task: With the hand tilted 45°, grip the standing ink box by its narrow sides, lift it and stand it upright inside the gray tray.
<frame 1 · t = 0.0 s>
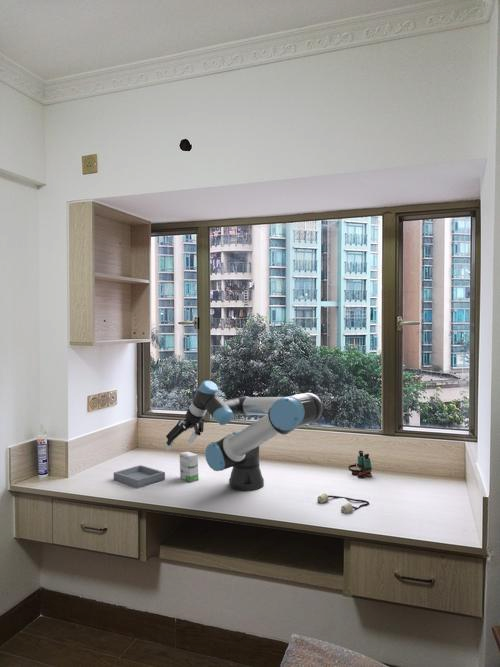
hand: (178, 446, 236), 15 cm above the table, tool tilted 35°, fingers open, 13 cm apart
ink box: (189, 479, 238), on the table
gray tray: (139, 479, 238), on the table
cable: (342, 505, 204), on the table
binoculars: (360, 476, 238), on the table
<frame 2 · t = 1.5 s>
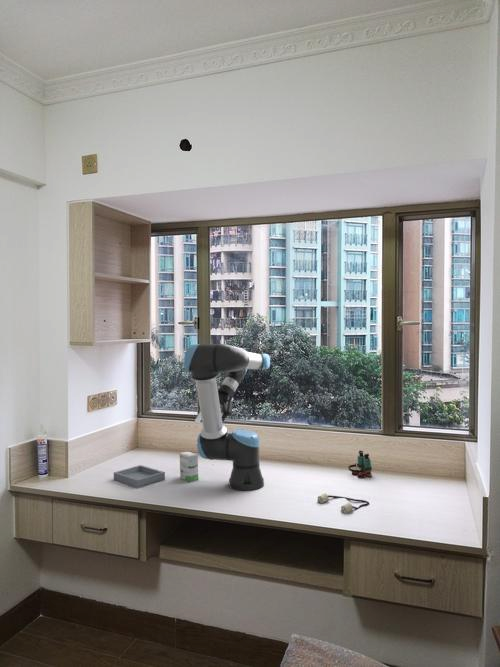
hand: (206, 424, 246), 23 cm above the table, tool tilted 45°, fingers open, 13 cm apart
nothing on the table moved.
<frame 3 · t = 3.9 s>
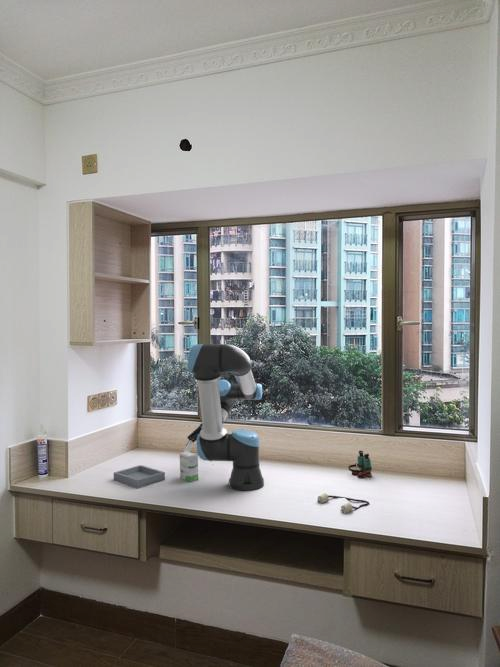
hand: (194, 455, 241), 9 cm above the table, tool tilted 45°, fingers open, 13 cm apart
nothing on the table moved.
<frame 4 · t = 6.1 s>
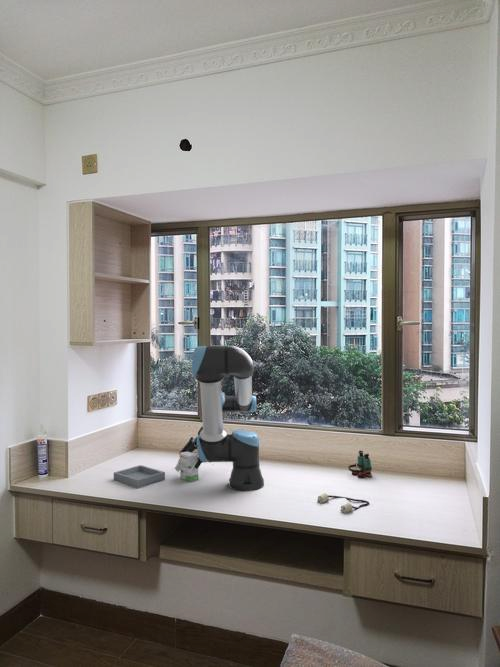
hand: (183, 472, 235), 4 cm above the table, tool tilted 45°, fingers closed on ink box, 9 cm apart
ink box: (189, 479, 238), on the table, touching gripper
everything else where it was.
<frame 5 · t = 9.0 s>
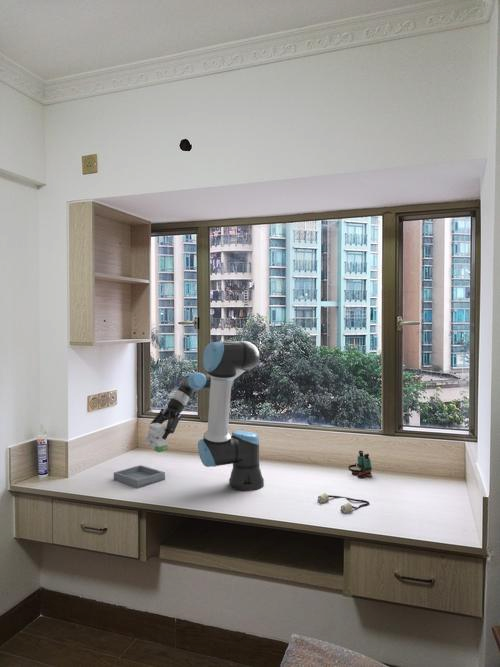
hand: (152, 442, 239), 16 cm above the table, tool tilted 40°, fingers closed on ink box, 9 cm apart
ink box: (158, 450, 242), point 12 cm above the table, touching gripper
everything else where it was.
when the fingers open (6 cm above the table, at t = 12.2 s): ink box drops 1 cm, resting on gray tray.
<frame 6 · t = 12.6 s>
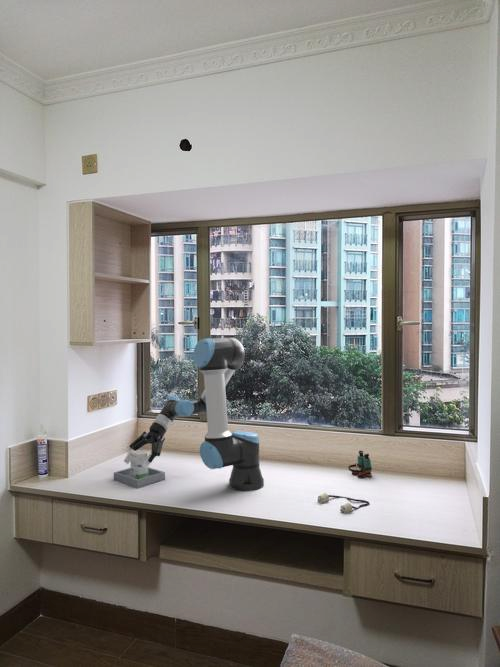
hand: (134, 465, 236), 7 cm above the table, tool tilted 45°, fingers open, 13 cm apart
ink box: (139, 478, 238), point 1 cm above the table, touching gray tray
everything else where it was.
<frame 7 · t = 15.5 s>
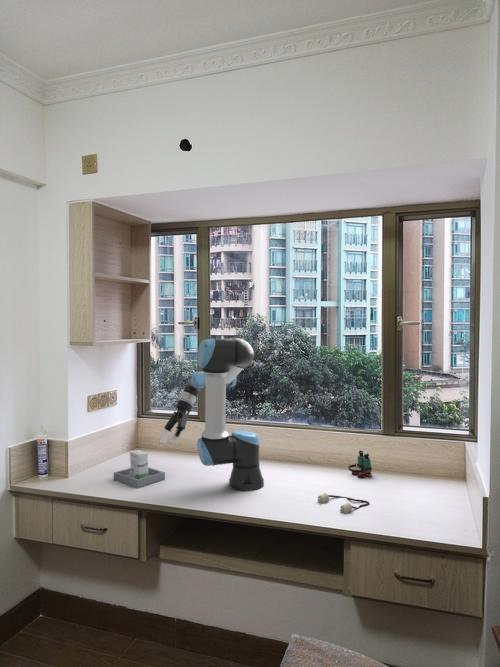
hand: (167, 443, 248), 14 cm above the table, tool tilted 35°, fingers open, 13 cm apart
nothing on the table moved.
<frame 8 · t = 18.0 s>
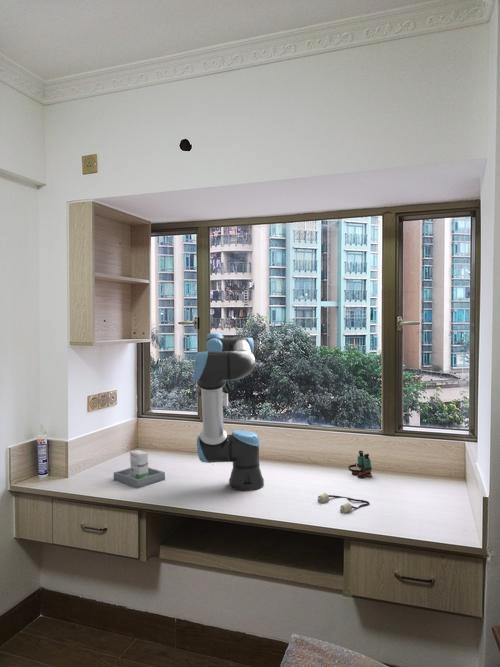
hand: (216, 408, 256), 29 cm above the table, tool pointing down, fingers open, 13 cm apart
nothing on the table moved.
at the end: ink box inside the target area on the gray tray (0.2 cm from its centre), point 0.8 cm above the gray tray's base; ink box tilted 0°; the gripper is holding nothing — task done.
